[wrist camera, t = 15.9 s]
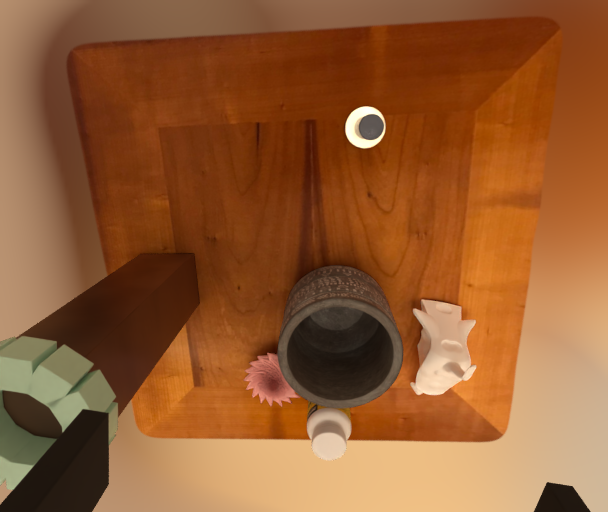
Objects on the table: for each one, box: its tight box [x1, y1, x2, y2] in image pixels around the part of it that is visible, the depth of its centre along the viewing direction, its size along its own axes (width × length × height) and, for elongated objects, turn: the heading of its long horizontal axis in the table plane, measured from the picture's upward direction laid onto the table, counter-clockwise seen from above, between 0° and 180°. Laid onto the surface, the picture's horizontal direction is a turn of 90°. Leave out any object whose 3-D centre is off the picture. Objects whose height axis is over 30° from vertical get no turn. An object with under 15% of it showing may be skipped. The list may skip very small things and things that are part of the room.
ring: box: [0, 336, 118, 490], centre depth 26 cm, size 10×10×2 cm
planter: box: [278, 265, 403, 408], centre depth 44 cm, size 12×12×13 cm
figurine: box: [410, 299, 476, 395], centre depth 47 cm, size 8×15×12 cm, turn 170°
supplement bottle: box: [307, 401, 351, 460], centre depth 49 cm, size 5×5×10 cm
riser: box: [2, 253, 200, 439], centre depth 39 cm, size 7×7×24 cm
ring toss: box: [345, 106, 386, 149], centre depth 40 cm, size 4×4×6 cm
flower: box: [244, 353, 300, 407], centre depth 50 cm, size 8×8×6 cm
